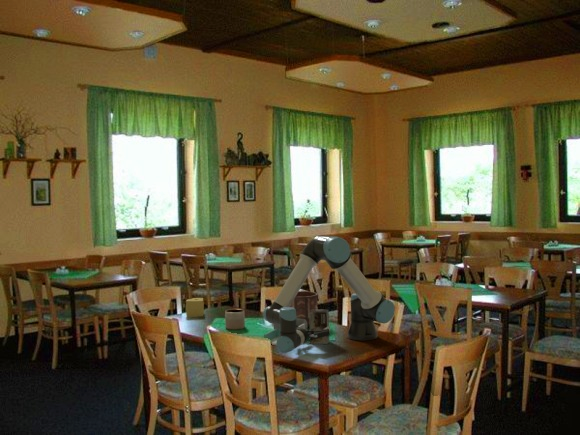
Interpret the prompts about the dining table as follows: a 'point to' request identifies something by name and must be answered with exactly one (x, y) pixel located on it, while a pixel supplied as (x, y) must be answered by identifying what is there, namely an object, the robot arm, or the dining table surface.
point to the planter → (234, 319)
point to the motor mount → (275, 333)
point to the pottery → (304, 304)
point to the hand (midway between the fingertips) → (316, 327)
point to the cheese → (194, 307)
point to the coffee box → (319, 324)
